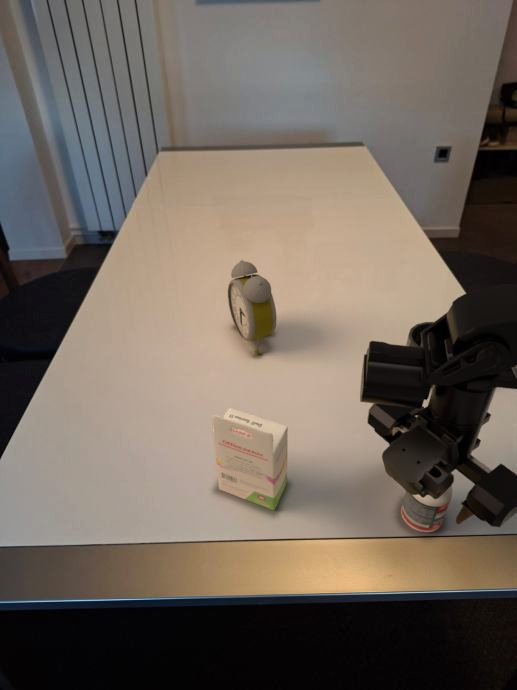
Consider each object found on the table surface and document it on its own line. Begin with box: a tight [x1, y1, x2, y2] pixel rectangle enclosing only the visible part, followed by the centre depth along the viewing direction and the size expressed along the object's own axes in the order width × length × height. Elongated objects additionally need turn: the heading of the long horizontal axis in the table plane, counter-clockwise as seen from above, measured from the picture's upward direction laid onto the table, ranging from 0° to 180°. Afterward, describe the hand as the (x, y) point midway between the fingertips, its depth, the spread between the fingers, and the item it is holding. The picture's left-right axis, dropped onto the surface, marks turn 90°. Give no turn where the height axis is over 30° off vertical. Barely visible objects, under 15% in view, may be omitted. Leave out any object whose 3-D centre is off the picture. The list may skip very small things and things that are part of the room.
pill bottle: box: [400, 472, 453, 533], centre depth 62 cm, size 5×5×9 cm
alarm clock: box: [227, 259, 277, 355], centre depth 91 cm, size 12×7×15 cm, turn 23°
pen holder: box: [405, 321, 453, 388], centre depth 85 cm, size 9×9×7 cm
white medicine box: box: [212, 407, 289, 511], centre depth 64 cm, size 9×5×15 cm, turn 65°
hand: (428, 494), depth 62 cm, fingers open, 9 cm apart
